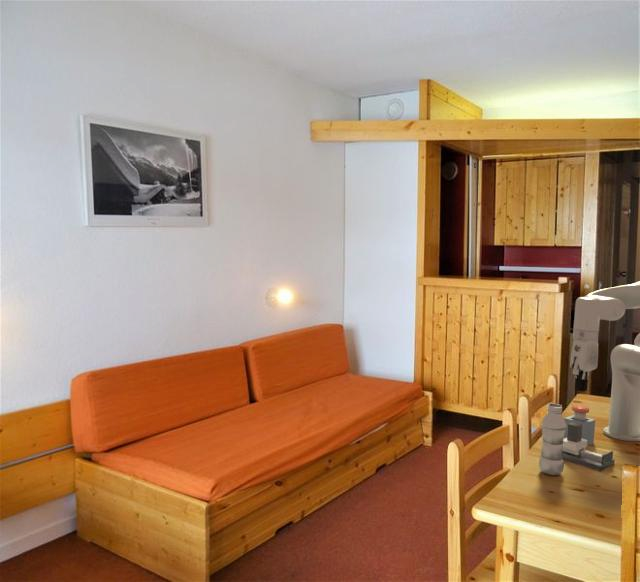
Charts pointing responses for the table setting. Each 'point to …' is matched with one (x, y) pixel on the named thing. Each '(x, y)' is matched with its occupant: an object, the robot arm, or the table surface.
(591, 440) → the gauge cabinet
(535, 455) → the table surface
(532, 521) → the table surface
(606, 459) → the track
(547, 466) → the plastic bottle
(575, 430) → the carriage
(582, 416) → the button
